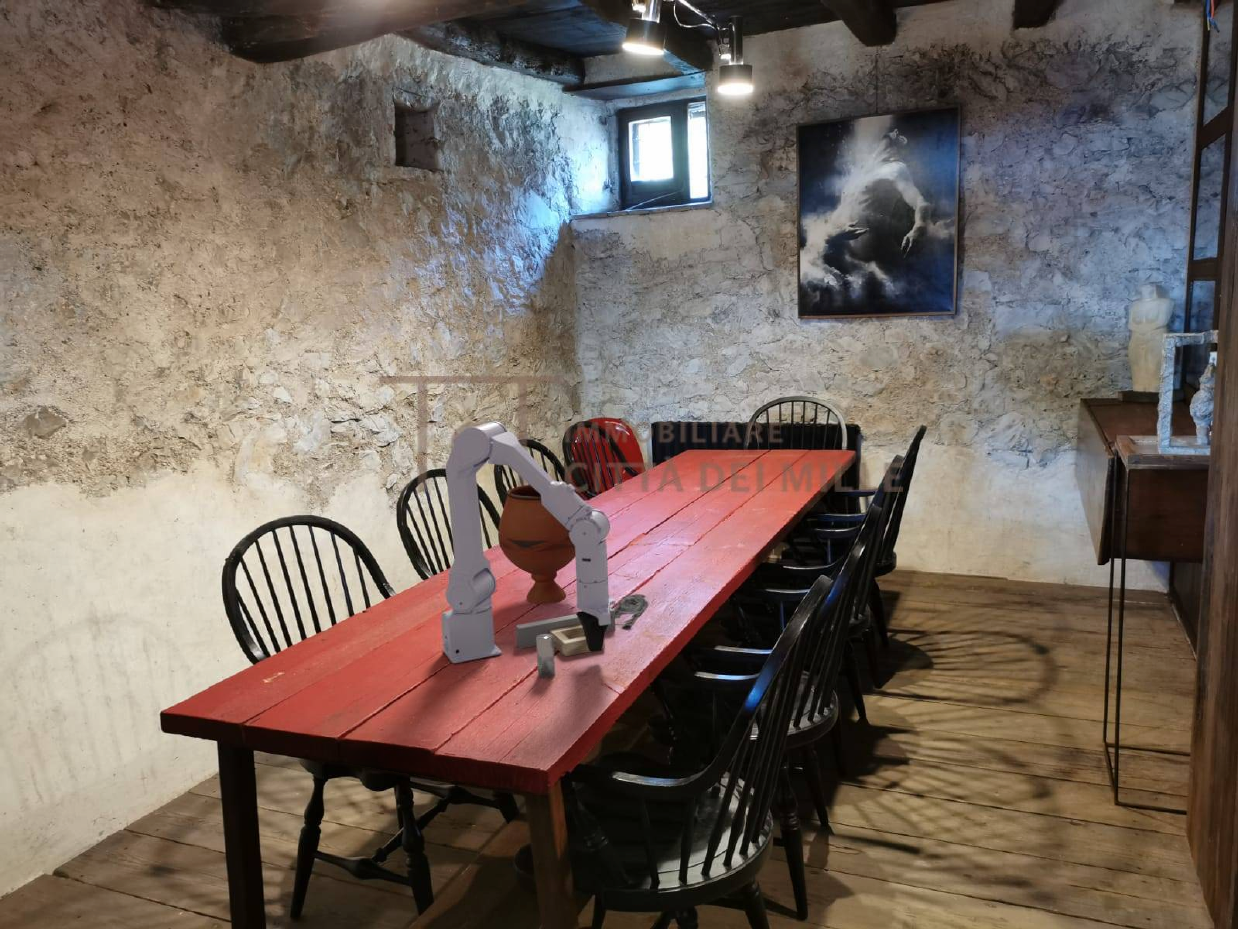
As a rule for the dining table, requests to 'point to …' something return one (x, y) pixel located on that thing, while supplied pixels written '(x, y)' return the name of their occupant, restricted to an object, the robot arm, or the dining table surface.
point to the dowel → (545, 655)
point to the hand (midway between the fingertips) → (595, 650)
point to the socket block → (570, 640)
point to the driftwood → (631, 608)
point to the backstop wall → (549, 628)
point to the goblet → (535, 542)
